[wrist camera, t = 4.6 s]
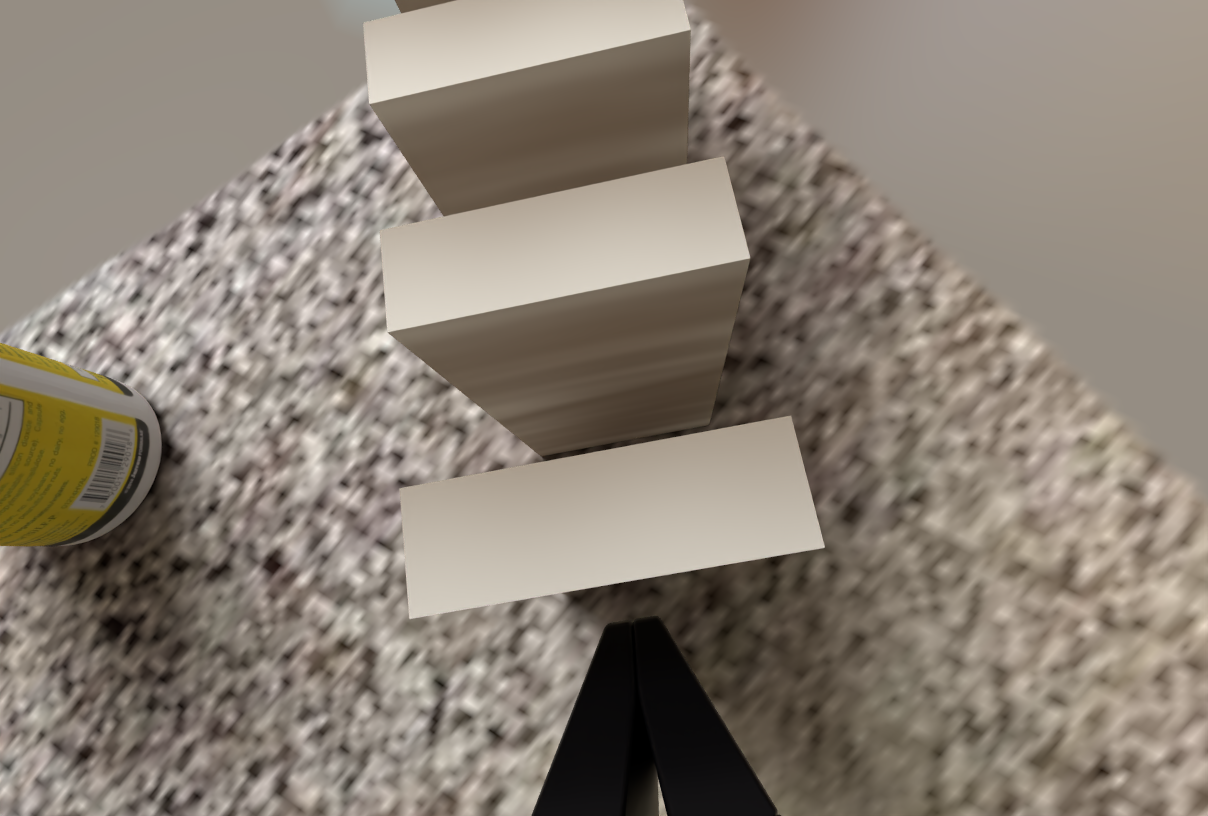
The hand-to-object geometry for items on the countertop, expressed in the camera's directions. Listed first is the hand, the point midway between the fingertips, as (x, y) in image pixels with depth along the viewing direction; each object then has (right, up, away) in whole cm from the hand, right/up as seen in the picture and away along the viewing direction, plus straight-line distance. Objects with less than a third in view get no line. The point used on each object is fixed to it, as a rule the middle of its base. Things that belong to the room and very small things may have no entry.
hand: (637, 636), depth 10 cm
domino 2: (0, +3, +8) cm, 9 cm away
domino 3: (-1, +7, +10) cm, 12 cm away
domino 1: (+1, 0, +7) cm, 8 cm away
